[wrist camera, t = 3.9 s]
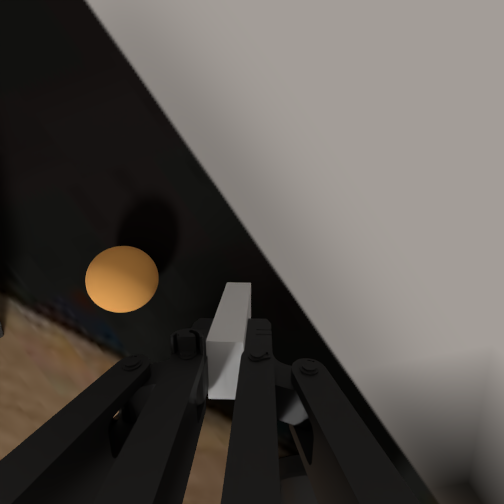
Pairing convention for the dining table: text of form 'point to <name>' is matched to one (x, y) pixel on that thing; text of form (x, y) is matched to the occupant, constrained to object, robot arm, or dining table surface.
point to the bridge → (0, 333)
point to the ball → (121, 279)
